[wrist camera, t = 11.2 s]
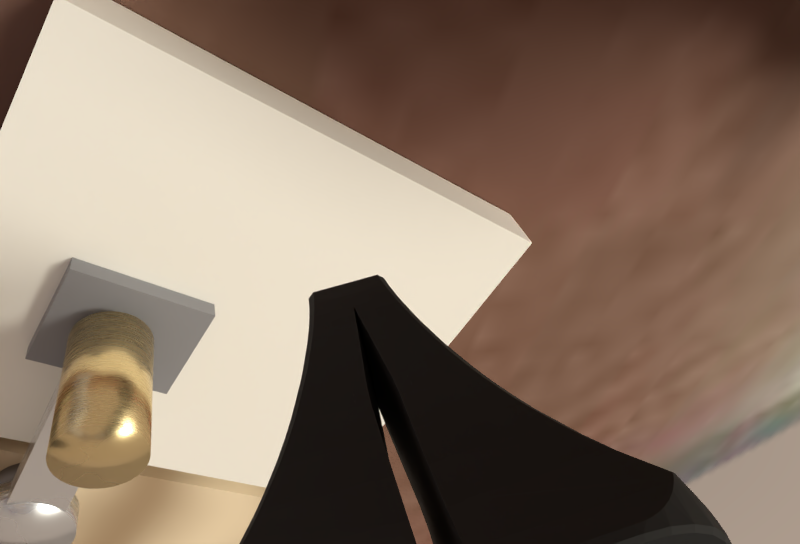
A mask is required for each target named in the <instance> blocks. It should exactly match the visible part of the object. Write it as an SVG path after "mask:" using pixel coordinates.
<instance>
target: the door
mask: <svg viewBox="0 0 800 544" xmlns="http://www.w3.org/2000/svg"><path fill="white" fill-rule="evenodd" d="M531 244H532V242H531V241H530V239H529V238H528V237H527V236H526V234H525V233H524V232H523V230H522V229H521V228H520V227H519V225H518V224H517V223H516V221H515V220H514V219H513V218H512V216H511V215H510V214H508V213H507V212H505V211H503V210H501V209H499V208H497V207H495V206H493V205H492V204H490V203H488V202H486V201H484V200H482V199H480V198H479V197H477V196H475V195H473V194H471V193H469V192H467V191H466V190H464V189H462V188H460V187H458V186H456V185H454V184H453V183H451V182H449V181H447V180H445V179H443V178H441V177H440V176H438V175H436V174H434V173H432V172H430V171H428V170H427V169H425V168H423V167H421V166H419V165H417V164H415V163H414V162H412V161H410V160H408V159H406V158H404V157H402V156H400V155H399V154H397V153H395V152H393V151H391V150H389V149H387V148H386V147H384V146H382V145H380V144H378V143H376V142H374V141H373V140H371V139H369V138H367V137H365V136H363V135H361V134H360V133H358V132H356V131H354V130H352V129H350V128H348V127H347V126H345V125H343V124H341V123H339V122H337V121H335V120H334V119H332V118H330V117H328V116H326V115H324V114H322V113H320V112H319V111H317V110H315V109H313V108H311V107H309V106H307V105H306V104H304V103H302V102H300V101H298V100H296V99H294V98H293V97H291V96H289V95H287V94H285V93H283V92H281V91H280V90H278V89H276V88H274V87H272V86H270V85H268V84H267V83H265V82H263V81H261V80H259V79H257V78H255V77H254V76H252V75H250V74H248V73H246V72H244V71H242V70H241V69H239V68H237V67H235V66H233V65H231V64H229V63H227V62H226V61H224V60H222V59H220V58H218V57H216V56H214V55H213V54H211V53H209V52H207V51H205V50H203V49H201V48H200V47H198V46H196V45H194V44H192V43H190V42H188V41H187V40H185V39H183V38H181V37H179V36H177V35H175V34H174V33H172V32H170V31H168V30H166V29H164V28H162V27H161V26H159V25H157V24H155V23H153V22H151V21H149V20H148V19H146V18H144V17H142V16H140V15H138V14H136V13H134V12H133V11H131V10H129V9H127V8H125V7H123V6H121V5H120V4H118V3H116V2H114V1H112V0H54V1H53V3H52V5H51V8H50V10H49V13H48V15H47V18H46V20H45V23H44V25H43V27H42V30H41V32H40V35H39V37H38V40H37V42H36V45H35V47H34V49H33V52H32V54H31V57H30V59H29V62H28V64H27V67H26V69H25V71H24V74H23V76H22V79H21V81H20V84H19V86H18V89H17V91H16V93H15V96H14V98H13V101H12V103H11V106H10V108H9V111H8V113H7V115H6V118H5V120H4V123H3V125H2V128H1V130H0V437H2V438H8V439H13V440H18V441H23V442H29V443H30V442H31V439H32V437H33V435H34V433H35V431H36V429H37V427H38V425H39V423H40V420H41V418H42V416H43V414H44V412H45V410H46V408H47V406H48V404H49V401H50V399H51V397H52V395H53V393H54V391H55V389H56V387H57V384H58V382H59V380H60V378H61V373H62V368H63V362H64V357H65V352H66V346H67V341H68V336H69V333H70V331H71V329H72V328H73V327H74V325H75V324H76V323H78V322H79V321H80V320H82V319H83V318H85V317H87V316H89V315H92V314H95V313H99V312H107V311H115V312H122V313H127V314H130V315H133V316H135V317H137V318H139V319H140V320H142V321H143V322H144V323H145V324H146V325H147V326H148V327H149V328H150V330H151V331H152V333H153V337H154V363H153V395H152V427H151V456H150V460H149V463H148V465H150V466H155V467H160V468H165V469H171V470H176V471H181V472H186V473H192V474H197V475H202V476H207V477H213V478H218V479H223V480H228V481H234V482H239V483H244V484H249V485H255V486H260V487H265V488H266V487H267V484H268V482H269V480H270V477H271V475H272V472H273V470H274V467H275V465H276V462H277V460H278V457H279V454H280V451H281V448H282V445H283V443H284V440H285V437H286V434H287V430H288V427H289V424H290V420H291V417H292V413H293V410H294V406H295V402H296V398H297V394H298V390H299V386H300V382H301V377H302V372H303V366H304V360H305V354H306V348H307V341H308V331H309V300H308V299H309V297H310V296H311V295H312V293H313V292H316V291H320V290H323V289H327V288H331V287H334V286H338V285H342V284H345V283H349V282H352V281H356V280H360V279H363V278H367V277H370V276H374V275H379V276H381V277H383V278H384V279H385V280H386V282H387V283H388V285H389V286H390V287H391V288H392V290H393V291H394V292H395V293H396V295H397V296H398V297H399V298H400V299H401V300H402V302H403V303H404V304H405V305H406V306H407V307H408V308H409V309H410V310H411V311H412V312H413V313H414V315H415V316H416V317H417V318H418V319H419V320H420V321H421V322H422V323H423V324H424V325H426V326H427V327H428V328H429V329H430V330H431V331H432V332H433V333H434V334H435V335H436V336H437V337H438V338H439V339H441V340H442V341H443V342H444V343H445V344H446V345H447V346H448V345H449V344H450V343H451V342H452V340H453V339H454V338H455V337H456V336H457V334H458V333H459V332H460V331H461V329H462V328H463V327H464V326H465V324H466V323H467V322H468V321H469V320H470V318H471V317H472V316H473V315H474V313H475V312H476V311H477V310H478V309H479V307H480V306H481V305H482V304H483V302H484V301H485V300H486V299H487V297H488V296H489V295H490V294H491V293H492V291H493V290H494V289H495V288H496V286H497V285H498V284H499V283H500V282H501V280H502V279H503V278H504V277H505V275H506V274H507V273H508V272H509V270H510V269H511V268H512V267H513V266H514V264H515V263H516V262H517V261H518V259H519V258H520V257H521V256H522V255H523V253H524V252H525V251H526V250H527V248H528V247H529V246H530V245H531ZM379 412H380V410H379ZM380 417H381V422H382V426H383V425H384V424H385V422H384V419H383V417H382V415H381V412H380Z"/></svg>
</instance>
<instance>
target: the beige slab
mask: <svg viewBox="0 0 800 544" xmlns="http://www.w3.org/2000/svg"><path fill="white" fill-rule="evenodd" d="M29 444H30V443H29V442H23V441H18V440H13V439H8V438H2V437H0V484H3V483H6V482H9V481H12V480H13V478H14V475H15V473H16V471H17V469H18V467H19V465H20V463H21V461H22V459H23V456H24V454H25V452H26V450H27V448H28V446H29ZM265 489H266V488H265V487H260V486H255V485H249V484H244V483H239V482H234V481H228V480H223V479H218V478H213V477H207V476H202V475H197V474H192V473H186V472H181V471H176V470H171V469H165V468H160V467H155V466H150V465H147V466H146V468H145V469H144V470H143V471H142V472H141V473H140V474H139V475H138V476H137V477H135V478H133V479H132V480H130V481H128V482H126V483H123V484H120V485H117V486H113V487H109V488H100V489H88V488H80V487H79V488H78V489H77V491H76V493H75V495H76V497H77V499H78V501H79V514H78V522H77V530H76V536H75V538H74V540H73V542H72V543H71V544H239V543H240V541H241V539H242V538H243V536H244V534H245V532H246V530H247V528H248V526H249V524H250V522H251V520H252V518H253V516H254V514H255V512H256V510H257V508H258V505H259V503H260V501H261V499H262V496H263V494H264V492H265Z"/></svg>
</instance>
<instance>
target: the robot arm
mask: <svg viewBox="0 0 800 544" xmlns="http://www.w3.org/2000/svg"><path fill="white" fill-rule="evenodd" d="M308 300H309V331H308V341H307V348H306V354H305V360H304V366H303V372H302V377H301V382H300V386H299V390H298V394H297V398H296V402H295V406H294V410H293V413H292V417H291V420H290V424H289V427H288V430H287V434H286V437H285V440H284V443H283V445H282V448H281V451H280V454H279V457H278V460H277V462H276V465H275V467H274V470H273V472H272V475H271V477H270V480H269V482H268V484H267V487H266V489H265V492H264V494H263V496H262V499H261V501H260V503H259V505H258V508H257V510H256V512H255V514H254V516H253V518H252V520H251V522H250V524H249V526H248V528H247V530H246V532H245V534H244V536H243V538H242V539H241V541H240V543H239V544H416V541H415V538H414V535H413V532H412V529H411V526H410V523H409V520H408V517H407V514H406V511H405V508H404V505H403V502H402V499H401V496H400V492H399V489H398V486H397V483H396V480H395V477H394V474H393V471H392V468H391V465H390V462H389V458H388V453H387V447H386V442H385V437H384V432H383V427H382V422H381V417H380V412H381V415H382V417H383V419H384V422H385V424H386V427H387V429H388V431H389V434H390V436H391V438H392V441H393V443H394V446H395V448H396V450H397V453H398V455H399V457H400V460H401V462H402V465H403V467H404V469H405V472H406V474H407V476H408V479H409V481H410V483H411V486H412V488H413V490H414V493H415V495H416V498H417V500H418V502H419V505H420V507H421V510H422V513H423V515H424V518H425V521H426V523H427V526H428V529H429V532H430V535H431V538H432V541H433V544H731V542H730V540H729V538H728V536H727V534H726V533H725V531H724V530H723V529H722V527H721V526H720V524H719V523H718V521H717V520H716V519H715V517H714V516H713V515H712V513H711V512H710V511H709V510H708V509H707V507H706V506H705V505H704V504H703V503H702V502H701V501H700V500H699V499H698V498H697V496H696V495H695V494H694V493H693V492H692V491H691V490H690V489H689V488H688V487H687V486H686V485H685V484H684V483H683V482H682V480H681V479H680V478H679V477H678V476H677V475H676V474H675V473H673V472H670V471H668V470H665V469H663V468H660V467H657V466H655V465H652V464H650V463H647V462H645V461H642V460H639V459H637V458H634V457H632V456H629V455H626V454H624V453H621V452H619V451H616V450H614V449H612V448H610V447H608V446H606V445H603V444H601V443H599V442H597V441H595V440H593V439H591V438H589V437H586V436H584V435H582V434H580V433H578V432H577V431H575V430H573V429H571V428H569V427H567V426H566V425H564V424H562V423H560V422H558V421H556V420H554V419H553V418H551V417H549V416H547V415H545V414H543V413H541V412H540V411H538V410H536V409H534V408H533V407H531V406H530V405H528V404H526V403H525V402H523V401H522V400H520V399H518V398H517V397H515V396H514V395H512V394H510V393H509V392H507V391H506V390H505V389H503V388H502V387H500V386H499V385H497V384H496V383H494V382H493V381H491V380H490V379H489V378H487V377H486V376H485V375H483V374H482V373H481V372H479V371H478V370H477V369H475V368H474V367H473V366H471V365H470V364H469V363H468V362H466V361H465V360H464V359H463V358H462V357H460V356H459V355H458V354H457V353H455V352H454V351H453V350H452V349H451V348H450V347H448V346H447V345H446V344H445V343H444V342H443V341H442V340H441V339H439V338H438V337H437V336H436V335H435V334H434V333H433V332H432V331H431V330H430V329H429V328H428V327H427V326H426V325H424V324H423V323H422V322H421V321H420V320H419V319H418V318H417V317H416V316H415V315H414V313H413V312H412V311H411V310H410V309H409V308H408V307H407V306H406V305H405V304H404V303H403V302H402V300H401V299H400V298H399V297H398V296H397V295H396V293H395V292H394V291H393V290H392V288H391V287H390V286H389V285H388V283H387V282H386V280H385V279H384V278H383V277H381V276H379V275H374V276H370V277H367V278H363V279H360V280H356V281H352V282H349V283H345V284H342V285H338V286H334V287H331V288H327V289H323V290H320V291H316V292H313V293H312V295H311V296H310V297H309V299H308ZM379 410H380V412H379Z"/></svg>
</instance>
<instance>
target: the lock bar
mask: <svg viewBox="0 0 800 544" xmlns="http://www.w3.org/2000/svg"><path fill="white" fill-rule="evenodd" d="M153 363H154V337H153V333H152V331H151V330H150V328H149V327H148V326H147V325H146V324H145V323H144V322H143V321H142V320H140V319H139V318H137V317H135V316H133V315H130V314H127V313H122V312H115V311H107V312H99V313H95V314H92V315H89V316H87V317H85V318H83V319H82V320H80V321H79V322H78V323H76V324H75V325H74V327H73V328H72V329H71V331H70V333H69V336H68V341H67V346H66V352H65V357H64V362H63V368H62V373H61V378H60V380H59V382H58V384H57V387H56V389H55V391H54V393H53V395H52V397H51V399H50V401H49V404H48V406H47V408H46V410H45V412H44V414H43V416H42V418H41V420H40V423H39V425H38V427H37V429H36V431H35V433H34V435H33V437H32V439H31V442H30V444H29V446H28V448H27V450H26V452H25V454H24V456H23V459H22V461H21V463H20V465H19V467H18V469H17V471H16V473H15V475H14V478H13V480H12V481H9V482H6V483H3V484H0V544H71V543H72V542H73V540H74V538H75V536H76V530H77V522H78V514H79V501H78V499H77V497H76V495H75V493H76V491H77V489H78V488H79V487H80V488H88V489H100V488H109V487H113V486H117V485H120V484H123V483H126V482H128V481H130V480H132V479H133V478H135V477H137V476H138V475H139V474H140V473H141V472H142V471H143V470H144V469H145V468H146V466H147V465H148V463H149V460H150V456H151V427H152V395H153Z"/></svg>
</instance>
